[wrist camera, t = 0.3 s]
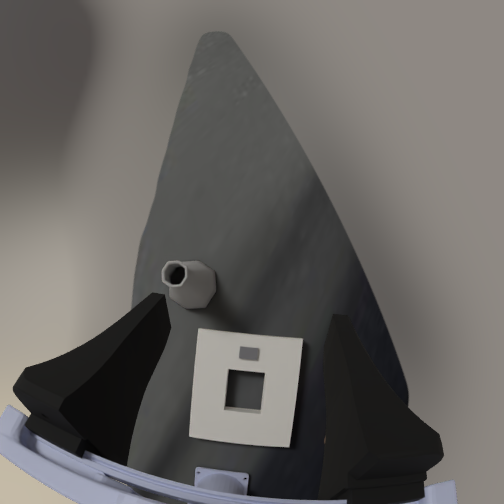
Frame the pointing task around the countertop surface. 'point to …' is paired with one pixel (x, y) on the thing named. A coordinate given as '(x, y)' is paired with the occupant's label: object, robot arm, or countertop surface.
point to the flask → (189, 283)
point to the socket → (246, 359)
